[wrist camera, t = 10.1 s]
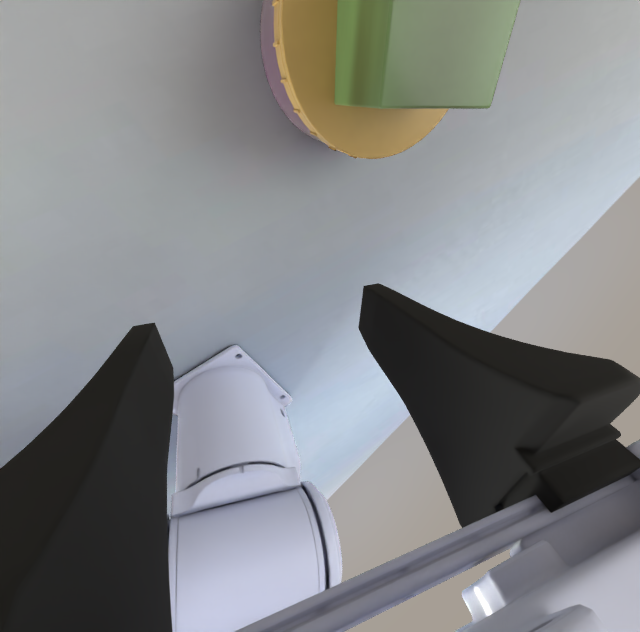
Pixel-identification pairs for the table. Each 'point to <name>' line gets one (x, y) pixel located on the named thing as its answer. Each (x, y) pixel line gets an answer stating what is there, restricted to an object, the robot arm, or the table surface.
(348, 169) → the table surface
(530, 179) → the table surface
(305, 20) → the lid
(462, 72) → the block
